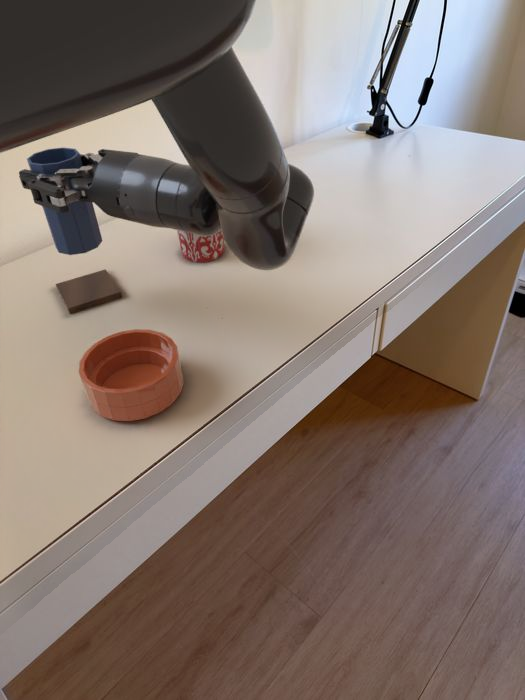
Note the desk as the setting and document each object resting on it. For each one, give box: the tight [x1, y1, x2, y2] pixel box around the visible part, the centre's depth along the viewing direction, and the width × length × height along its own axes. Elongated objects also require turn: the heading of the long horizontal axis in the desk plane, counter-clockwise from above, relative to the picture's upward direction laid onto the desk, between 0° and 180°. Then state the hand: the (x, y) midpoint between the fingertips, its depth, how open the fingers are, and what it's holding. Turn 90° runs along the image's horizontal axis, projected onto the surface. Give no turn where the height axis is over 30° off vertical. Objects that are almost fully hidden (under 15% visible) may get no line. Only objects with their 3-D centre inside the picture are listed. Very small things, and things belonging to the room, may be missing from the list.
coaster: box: [55, 269, 123, 315], centre depth 81 cm, size 8×8×1 cm
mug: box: [176, 230, 225, 263], centre depth 86 cm, size 13×9×14 cm
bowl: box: [78, 328, 185, 422], centre depth 62 cm, size 11×11×5 cm
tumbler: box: [26, 147, 103, 256], centre depth 69 cm, size 6×6×12 cm
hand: (44, 169), depth 67 cm, fingers closed on tumbler, 6 cm apart
